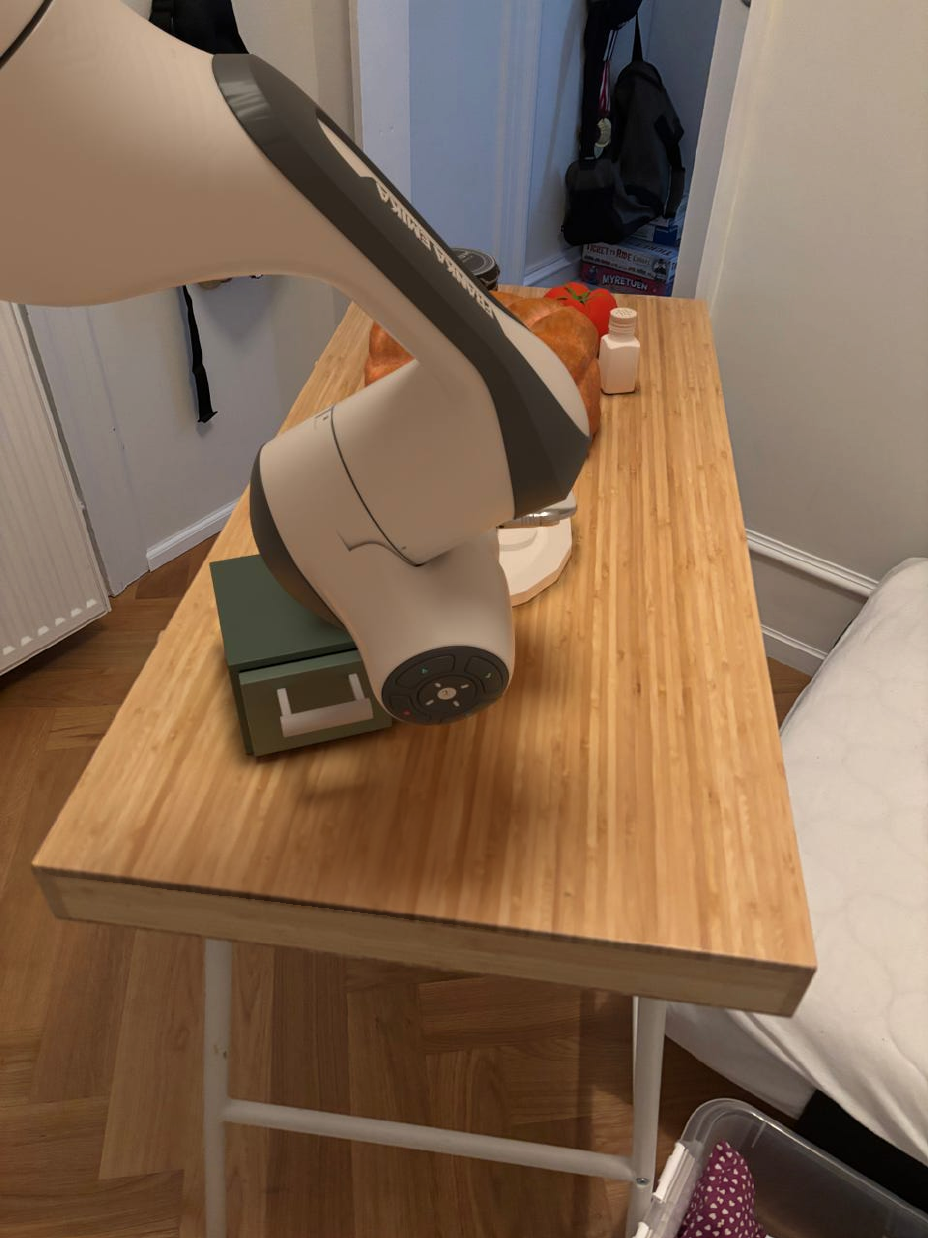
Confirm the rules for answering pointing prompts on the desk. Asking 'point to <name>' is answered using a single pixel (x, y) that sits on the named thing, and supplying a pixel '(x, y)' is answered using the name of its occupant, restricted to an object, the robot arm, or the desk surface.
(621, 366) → the pepper shaker
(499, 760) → the desk surface
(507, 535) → the dish
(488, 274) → the container
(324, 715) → the drawer
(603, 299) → the tomato
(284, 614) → the cabinet
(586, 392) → the bread
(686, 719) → the desk surface
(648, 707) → the desk surface
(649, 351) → the desk surface
